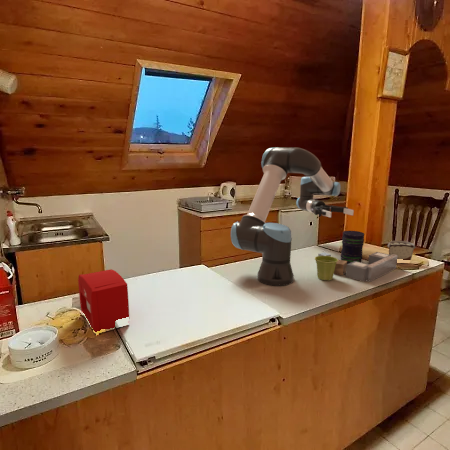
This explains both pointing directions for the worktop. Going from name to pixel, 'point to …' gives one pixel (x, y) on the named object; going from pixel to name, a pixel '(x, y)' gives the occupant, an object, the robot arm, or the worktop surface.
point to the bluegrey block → (324, 254)
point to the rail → (381, 267)
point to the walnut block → (340, 267)
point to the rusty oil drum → (352, 246)
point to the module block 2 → (376, 257)
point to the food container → (401, 249)
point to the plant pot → (325, 267)
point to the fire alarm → (103, 298)
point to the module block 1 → (356, 270)
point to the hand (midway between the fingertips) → (342, 213)
